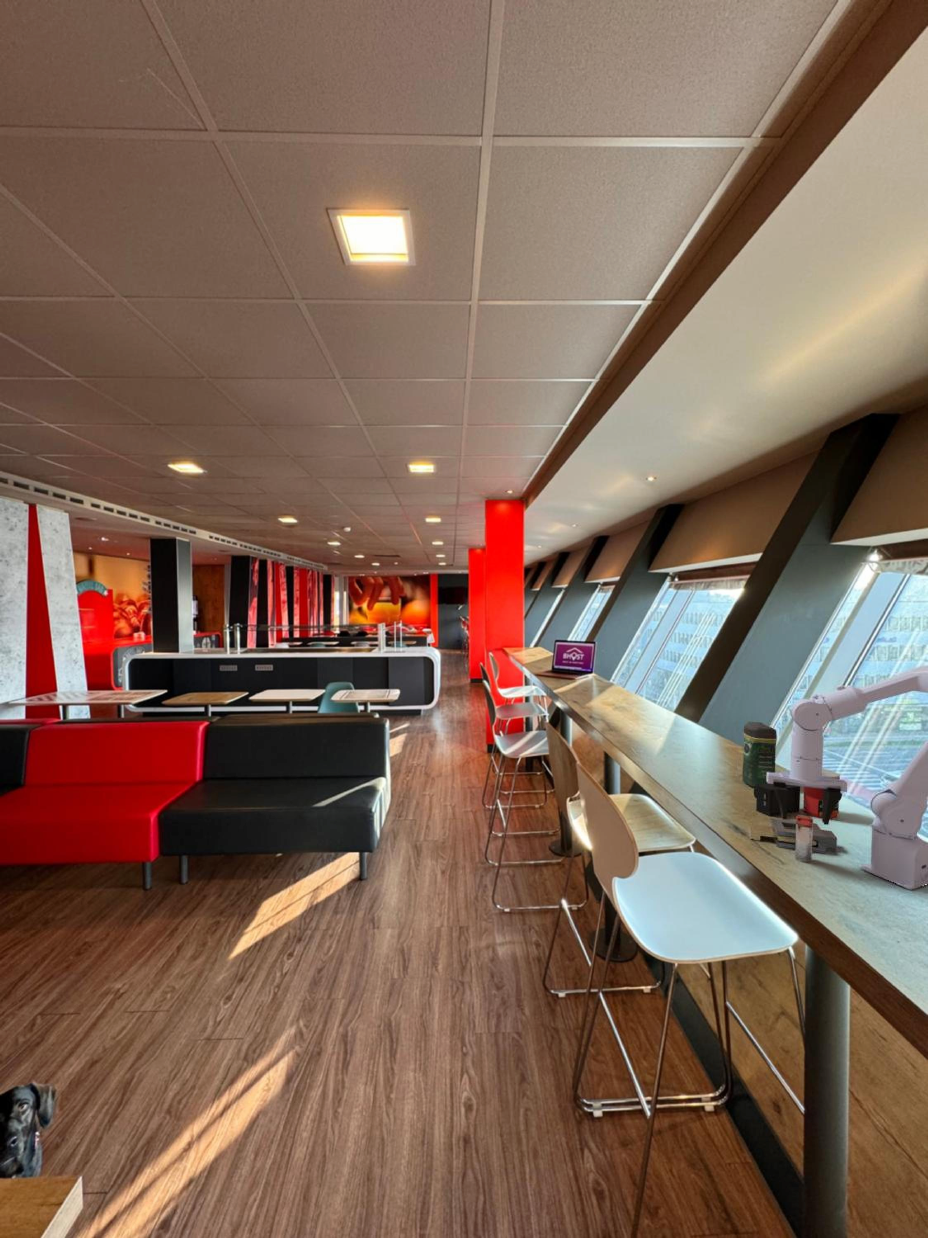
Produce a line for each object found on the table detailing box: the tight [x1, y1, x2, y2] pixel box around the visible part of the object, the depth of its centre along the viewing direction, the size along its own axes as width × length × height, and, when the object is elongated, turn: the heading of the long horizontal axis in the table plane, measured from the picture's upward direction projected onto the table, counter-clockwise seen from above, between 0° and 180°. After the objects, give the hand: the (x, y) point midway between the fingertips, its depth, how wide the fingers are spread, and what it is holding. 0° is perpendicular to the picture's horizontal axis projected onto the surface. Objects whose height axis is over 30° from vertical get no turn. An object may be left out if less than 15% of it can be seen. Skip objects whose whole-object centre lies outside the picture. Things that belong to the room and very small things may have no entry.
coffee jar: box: [741, 721, 778, 788], centre depth 169 cm, size 10×8×19 cm
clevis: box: [747, 817, 838, 854], centre depth 128 cm, size 17×8×4 cm, turn 71°
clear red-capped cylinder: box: [794, 814, 814, 864], centre depth 119 cm, size 3×3×9 cm
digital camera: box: [753, 783, 801, 818], centre depth 148 cm, size 10×5×7 cm, turn 109°
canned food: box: [802, 768, 841, 820], centre depth 146 cm, size 8×8×11 cm
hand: (804, 820), depth 119 cm, fingers open, 7 cm apart
